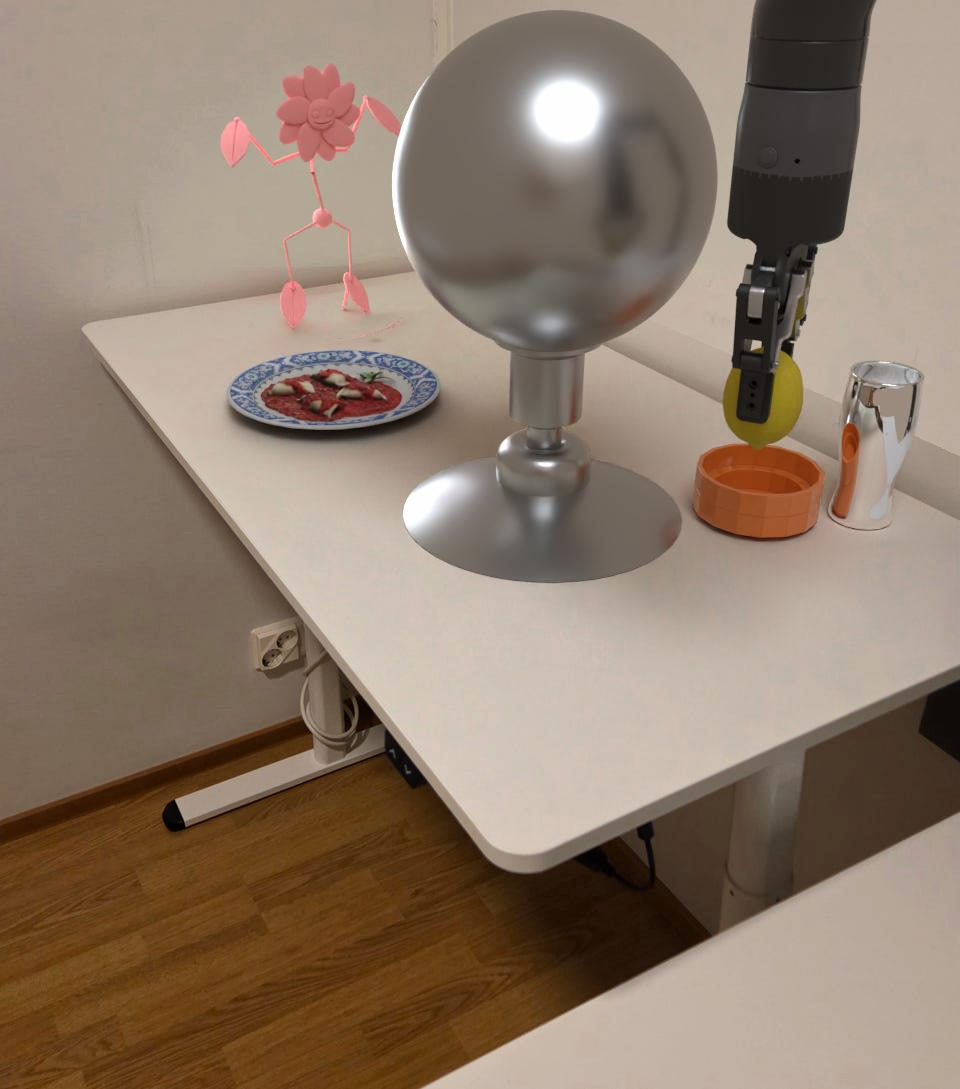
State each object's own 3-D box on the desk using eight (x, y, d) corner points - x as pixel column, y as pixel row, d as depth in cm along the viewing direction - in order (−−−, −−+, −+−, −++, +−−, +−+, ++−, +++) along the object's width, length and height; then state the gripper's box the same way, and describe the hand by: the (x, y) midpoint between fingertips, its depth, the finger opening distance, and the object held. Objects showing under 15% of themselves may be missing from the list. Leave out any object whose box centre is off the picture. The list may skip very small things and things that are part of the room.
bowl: (793, 485, 115) (800, 441, 113) (834, 541, 105) (842, 494, 102) (680, 488, 114) (685, 444, 112) (709, 545, 104) (715, 497, 101)
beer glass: (808, 514, 109) (833, 370, 102) (847, 493, 114) (873, 354, 106) (871, 539, 105) (901, 391, 98) (909, 517, 109) (941, 373, 102)
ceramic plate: (290, 464, 119) (288, 439, 118) (193, 393, 137) (190, 370, 136) (482, 411, 132) (482, 387, 131) (371, 352, 150) (370, 331, 149)
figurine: (231, 326, 160) (203, 65, 143) (388, 299, 172) (379, 55, 155) (273, 356, 149) (247, 77, 132) (438, 325, 161) (434, 65, 144)
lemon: (702, 448, 81) (712, 343, 77) (749, 427, 84) (761, 326, 80) (764, 472, 77) (778, 364, 73) (811, 450, 80) (827, 345, 76)
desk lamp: (570, 617, 93) (601, 30, 71) (345, 516, 109) (313, 10, 87) (733, 504, 111) (798, 10, 89) (520, 432, 127) (531, -3, 105)
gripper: (833, 185, 64) (794, 452, 72) (870, 144, 75) (833, 379, 83) (705, 175, 66) (682, 433, 75) (760, 137, 78) (735, 365, 86)
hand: (762, 404), depth 79 cm, fingers closed on lemon, 5 cm apart
